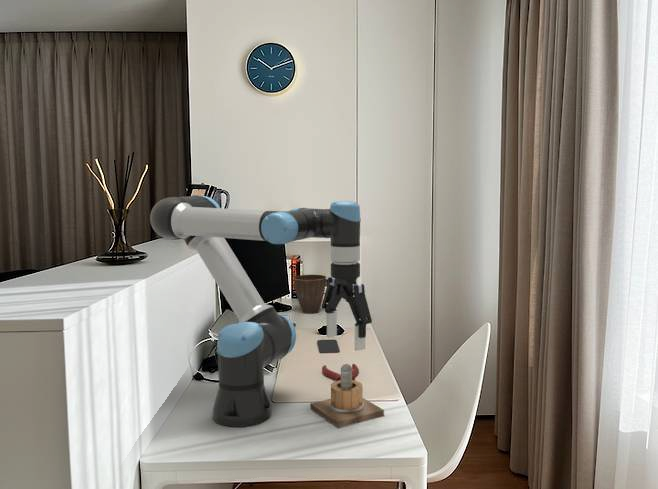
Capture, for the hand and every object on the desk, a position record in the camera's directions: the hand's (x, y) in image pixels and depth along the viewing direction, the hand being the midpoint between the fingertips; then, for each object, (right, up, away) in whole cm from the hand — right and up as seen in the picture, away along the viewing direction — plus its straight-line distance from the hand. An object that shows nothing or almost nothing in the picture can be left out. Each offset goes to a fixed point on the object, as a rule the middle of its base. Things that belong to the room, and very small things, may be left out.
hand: (345, 343), depth 152 cm
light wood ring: (0, -16, +2) cm, 16 cm away
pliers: (-1, -16, +27) cm, 32 cm away
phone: (-5, -12, +61) cm, 62 cm away
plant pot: (-13, -5, +115) cm, 116 cm away
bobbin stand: (0, -19, +2) cm, 19 cm away
